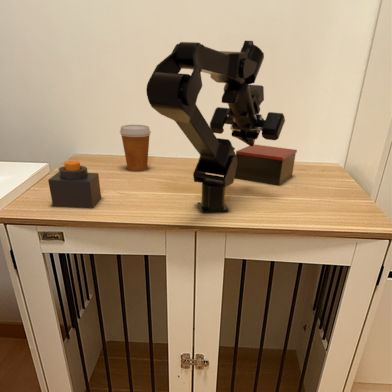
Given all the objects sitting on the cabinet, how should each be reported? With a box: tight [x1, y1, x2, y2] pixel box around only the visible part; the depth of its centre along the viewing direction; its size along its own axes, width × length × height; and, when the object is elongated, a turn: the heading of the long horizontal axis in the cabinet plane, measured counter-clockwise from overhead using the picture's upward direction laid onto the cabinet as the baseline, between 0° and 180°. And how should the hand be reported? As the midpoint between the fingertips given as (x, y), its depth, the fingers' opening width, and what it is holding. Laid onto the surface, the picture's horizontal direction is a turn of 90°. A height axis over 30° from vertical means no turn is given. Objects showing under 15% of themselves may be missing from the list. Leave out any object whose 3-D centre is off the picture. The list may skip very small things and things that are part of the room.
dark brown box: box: [234, 152, 297, 186], centre depth 126 cm, size 13×15×7 cm
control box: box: [47, 165, 102, 209], centre depth 101 cm, size 10×8×8 cm
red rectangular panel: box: [235, 143, 298, 161], centre depth 124 cm, size 13×15×1 cm
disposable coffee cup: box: [119, 124, 152, 172], centre depth 129 cm, size 10×10×12 cm
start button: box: [63, 160, 81, 171], centre depth 98 cm, size 4×4×2 cm
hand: (252, 144), depth 112 cm, fingers closed
